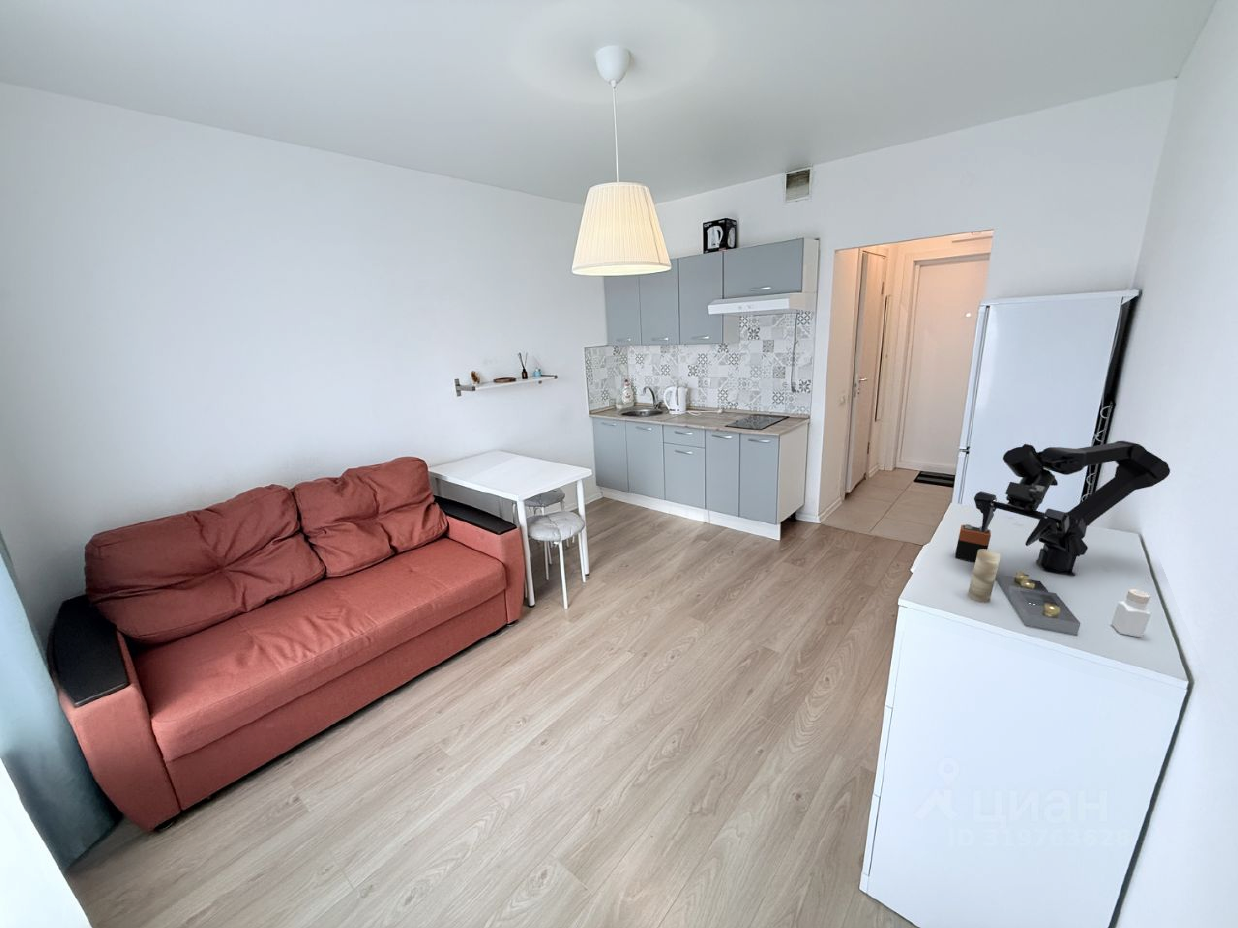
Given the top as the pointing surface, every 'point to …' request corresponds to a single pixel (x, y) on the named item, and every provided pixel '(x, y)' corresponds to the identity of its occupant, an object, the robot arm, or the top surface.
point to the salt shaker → (1132, 614)
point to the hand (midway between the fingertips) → (1003, 537)
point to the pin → (984, 575)
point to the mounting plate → (1038, 604)
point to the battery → (971, 542)
